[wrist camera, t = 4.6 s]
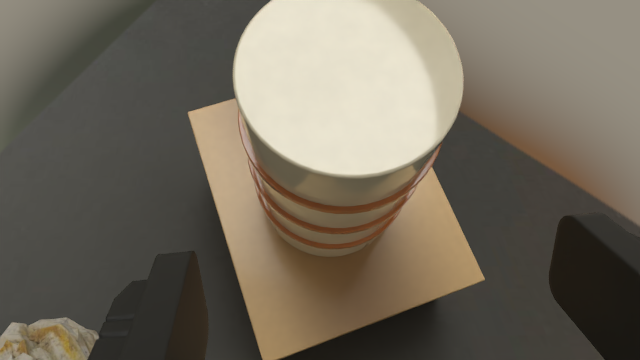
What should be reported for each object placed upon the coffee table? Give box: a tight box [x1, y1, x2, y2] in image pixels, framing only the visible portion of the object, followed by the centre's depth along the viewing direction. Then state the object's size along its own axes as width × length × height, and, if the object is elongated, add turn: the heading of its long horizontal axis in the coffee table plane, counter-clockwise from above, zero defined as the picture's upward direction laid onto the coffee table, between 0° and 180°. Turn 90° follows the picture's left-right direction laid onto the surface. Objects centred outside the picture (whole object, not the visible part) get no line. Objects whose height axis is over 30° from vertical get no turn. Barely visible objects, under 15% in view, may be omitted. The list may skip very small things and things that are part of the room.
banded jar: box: [232, 0, 463, 257], centre depth 17 cm, size 6×6×10 cm
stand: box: [188, 98, 485, 360], centre depth 25 cm, size 10×12×8 cm
